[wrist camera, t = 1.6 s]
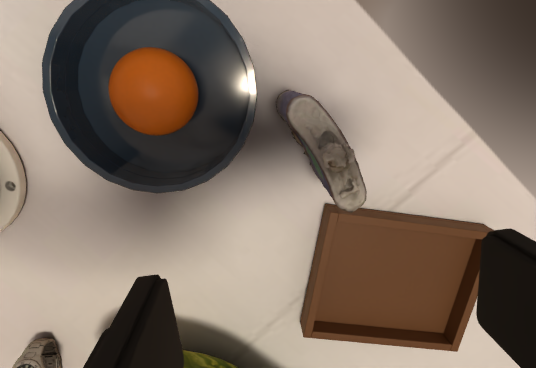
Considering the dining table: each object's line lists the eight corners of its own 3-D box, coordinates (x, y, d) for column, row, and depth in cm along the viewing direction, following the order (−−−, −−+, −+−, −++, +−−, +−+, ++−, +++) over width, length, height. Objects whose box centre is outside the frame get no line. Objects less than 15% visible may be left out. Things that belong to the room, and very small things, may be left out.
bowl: (75, 164, 31) (44, 179, 27) (76, -24, 27) (39, -46, 23) (242, 186, 33) (241, 204, 28) (267, 11, 29) (271, -3, 24)
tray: (300, 321, 38) (303, 337, 35) (324, 203, 34) (330, 212, 32) (445, 336, 39) (457, 351, 37) (484, 224, 35) (500, 234, 33)
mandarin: (124, 123, 30) (92, 134, 24) (127, 44, 28) (94, 34, 22) (199, 134, 31) (186, 147, 24) (207, 57, 29) (195, 51, 23)
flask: (270, 99, 31) (282, 109, 21) (298, 82, 31) (325, 82, 20) (320, 184, 33) (353, 231, 23) (347, 169, 33) (392, 208, 23)
